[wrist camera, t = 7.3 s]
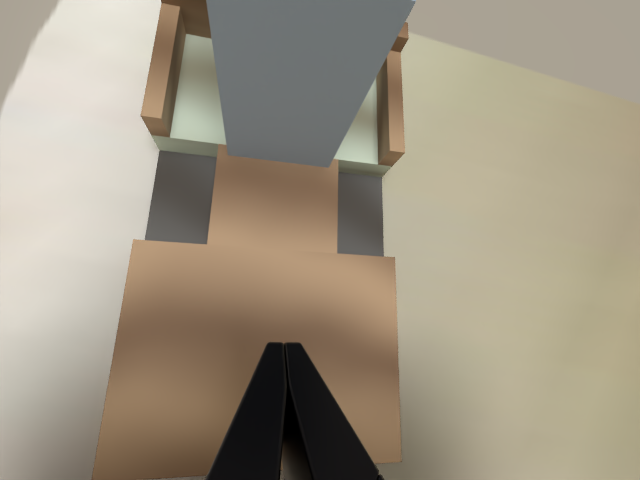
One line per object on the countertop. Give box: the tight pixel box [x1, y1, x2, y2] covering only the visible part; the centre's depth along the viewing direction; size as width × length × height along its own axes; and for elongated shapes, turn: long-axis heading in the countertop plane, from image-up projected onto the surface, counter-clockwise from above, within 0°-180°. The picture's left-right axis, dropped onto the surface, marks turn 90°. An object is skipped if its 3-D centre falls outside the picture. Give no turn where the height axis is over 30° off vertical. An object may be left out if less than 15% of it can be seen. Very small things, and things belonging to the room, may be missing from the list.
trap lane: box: [92, 0, 409, 480], centre depth 15 cm, size 21×12×4 cm, turn 178°
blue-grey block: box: [206, 0, 416, 168], centre depth 12 cm, size 6×5×9 cm
